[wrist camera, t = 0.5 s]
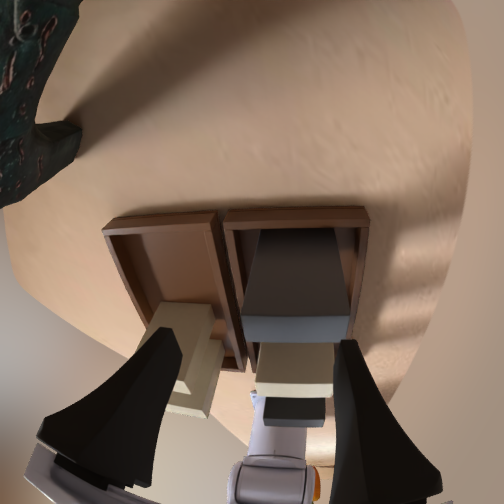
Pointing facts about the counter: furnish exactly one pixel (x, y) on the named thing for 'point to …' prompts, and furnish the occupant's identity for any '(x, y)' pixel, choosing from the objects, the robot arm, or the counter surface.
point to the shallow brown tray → (179, 270)
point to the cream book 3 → (295, 370)
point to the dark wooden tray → (254, 219)
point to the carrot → (316, 486)
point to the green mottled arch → (32, 94)
